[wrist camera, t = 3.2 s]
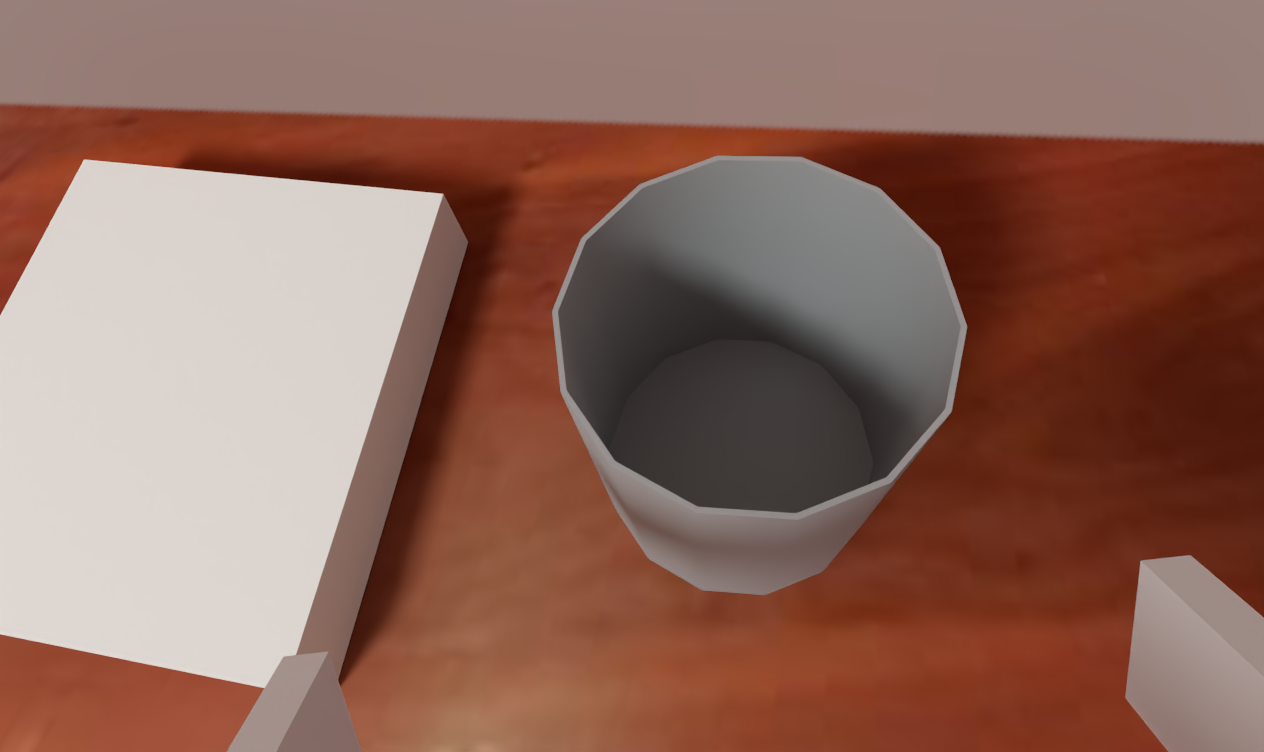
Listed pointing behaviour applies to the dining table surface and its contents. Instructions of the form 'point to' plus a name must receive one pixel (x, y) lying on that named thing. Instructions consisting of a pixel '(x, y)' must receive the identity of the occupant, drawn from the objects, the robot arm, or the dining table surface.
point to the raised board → (212, 411)
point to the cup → (755, 363)
